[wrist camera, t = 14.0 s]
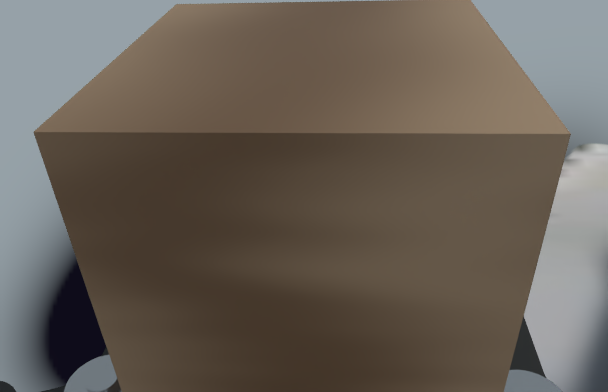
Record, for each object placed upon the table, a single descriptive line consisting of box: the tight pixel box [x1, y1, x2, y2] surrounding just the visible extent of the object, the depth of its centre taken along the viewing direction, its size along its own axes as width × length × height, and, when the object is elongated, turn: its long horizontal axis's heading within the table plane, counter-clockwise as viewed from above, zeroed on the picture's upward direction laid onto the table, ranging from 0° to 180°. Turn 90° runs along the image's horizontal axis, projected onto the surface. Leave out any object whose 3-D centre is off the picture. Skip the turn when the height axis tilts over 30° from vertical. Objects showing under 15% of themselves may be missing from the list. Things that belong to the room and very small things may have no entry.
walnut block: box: [34, 0, 571, 392], centre depth 11 cm, size 5×5×13 cm
